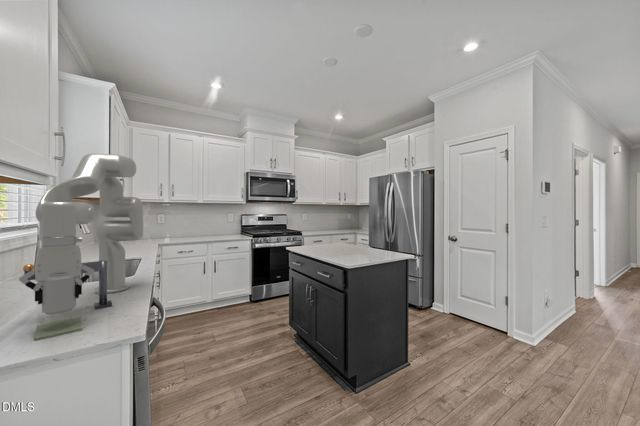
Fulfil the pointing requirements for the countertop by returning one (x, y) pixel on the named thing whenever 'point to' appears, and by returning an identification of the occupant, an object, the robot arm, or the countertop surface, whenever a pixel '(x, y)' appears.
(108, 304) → the clip base
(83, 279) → the robot arm
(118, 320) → the countertop surface
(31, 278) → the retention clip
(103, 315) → the countertop surface
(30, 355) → the countertop surface
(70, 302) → the can
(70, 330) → the mat
